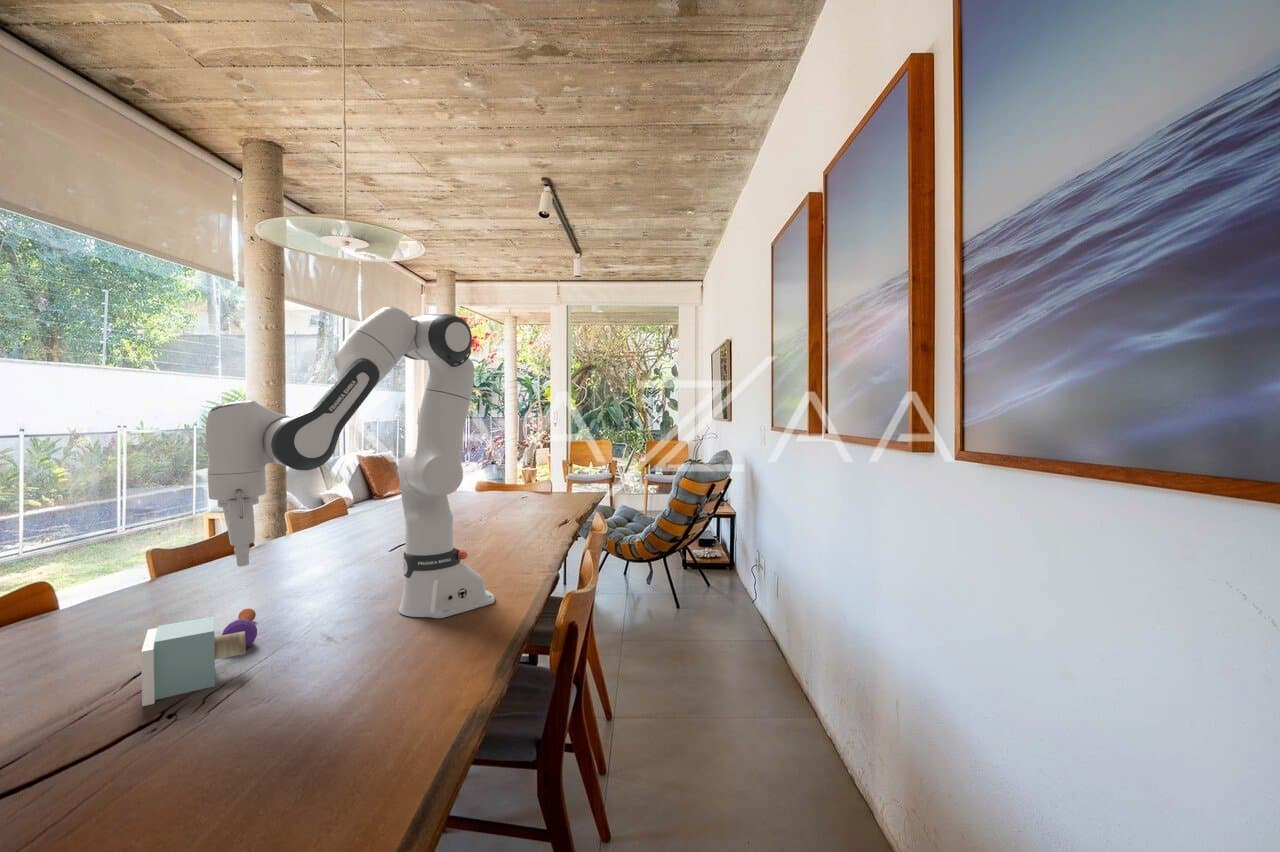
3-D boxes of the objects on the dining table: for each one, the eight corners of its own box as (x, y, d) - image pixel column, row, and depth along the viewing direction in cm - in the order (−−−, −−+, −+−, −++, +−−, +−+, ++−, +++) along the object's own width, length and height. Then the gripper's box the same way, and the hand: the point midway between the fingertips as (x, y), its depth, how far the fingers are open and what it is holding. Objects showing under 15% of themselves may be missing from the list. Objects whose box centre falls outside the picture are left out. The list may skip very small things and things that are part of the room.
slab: (159, 676, 103) (158, 627, 103) (154, 703, 93) (153, 649, 93) (148, 679, 102) (147, 629, 102) (142, 706, 92) (141, 651, 92)
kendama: (265, 602, 132) (259, 623, 115) (259, 629, 131) (252, 653, 114) (234, 602, 129) (223, 623, 112) (228, 629, 128) (216, 654, 111)
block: (214, 667, 107) (214, 616, 106) (215, 686, 99) (214, 630, 99) (159, 679, 102) (158, 626, 102) (155, 699, 95) (154, 642, 94)
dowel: (244, 648, 107) (244, 627, 107) (245, 657, 104) (245, 635, 104) (176, 662, 101) (176, 639, 101) (175, 671, 98) (175, 648, 98)
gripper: (262, 491, 100) (266, 568, 101) (254, 480, 116) (257, 547, 117) (217, 495, 96) (222, 575, 97) (216, 483, 113) (219, 552, 113)
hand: (241, 560), depth 107 cm, fingers open, 8 cm apart
